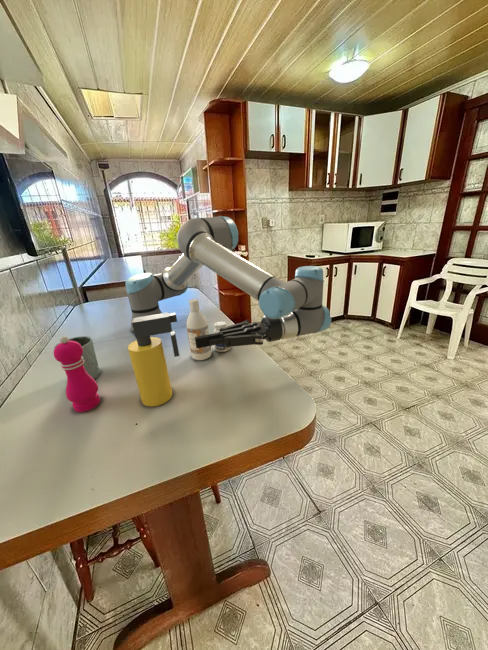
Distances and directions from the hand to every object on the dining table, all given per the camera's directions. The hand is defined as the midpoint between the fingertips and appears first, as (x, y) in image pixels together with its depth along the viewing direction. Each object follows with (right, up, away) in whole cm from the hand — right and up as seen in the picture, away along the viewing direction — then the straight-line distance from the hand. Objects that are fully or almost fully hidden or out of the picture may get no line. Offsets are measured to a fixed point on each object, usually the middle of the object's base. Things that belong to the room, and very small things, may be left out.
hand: (195, 342), depth 70 cm
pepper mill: (-29, -17, +1) cm, 34 cm away
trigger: (-5, -3, -1) cm, 6 cm away
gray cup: (-38, -12, +14) cm, 42 cm away
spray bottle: (-9, -14, +3) cm, 17 cm away
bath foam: (-2, -6, +22) cm, 23 cm away
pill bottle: (+5, -4, +26) cm, 27 cm away
